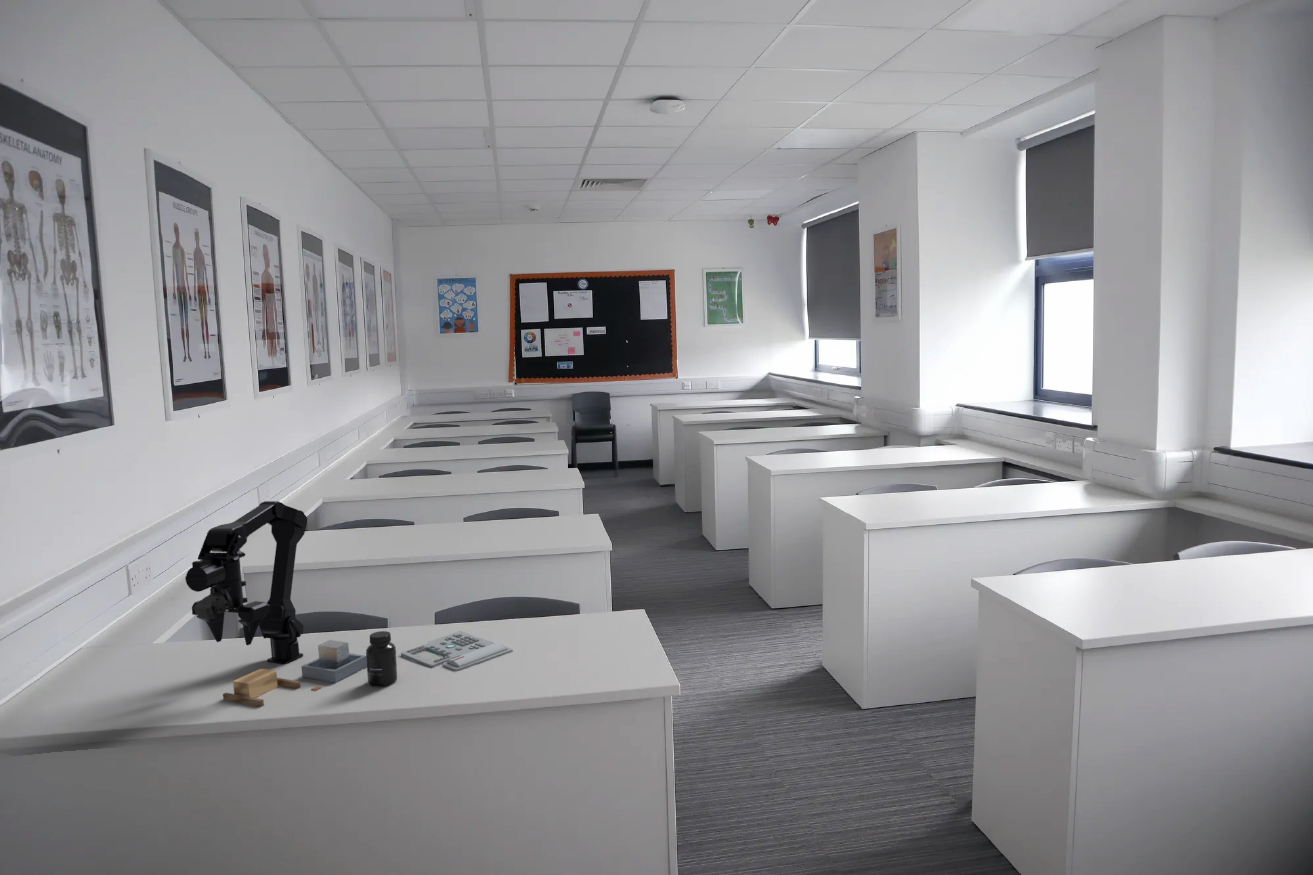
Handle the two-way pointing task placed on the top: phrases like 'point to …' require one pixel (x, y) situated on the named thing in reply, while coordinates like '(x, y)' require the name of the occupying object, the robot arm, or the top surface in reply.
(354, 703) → the top surface
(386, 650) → the supplement bottle
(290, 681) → the bar
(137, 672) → the top surface
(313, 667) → the tray
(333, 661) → the block
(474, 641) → the office telephone
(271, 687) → the block
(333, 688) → the top surface
